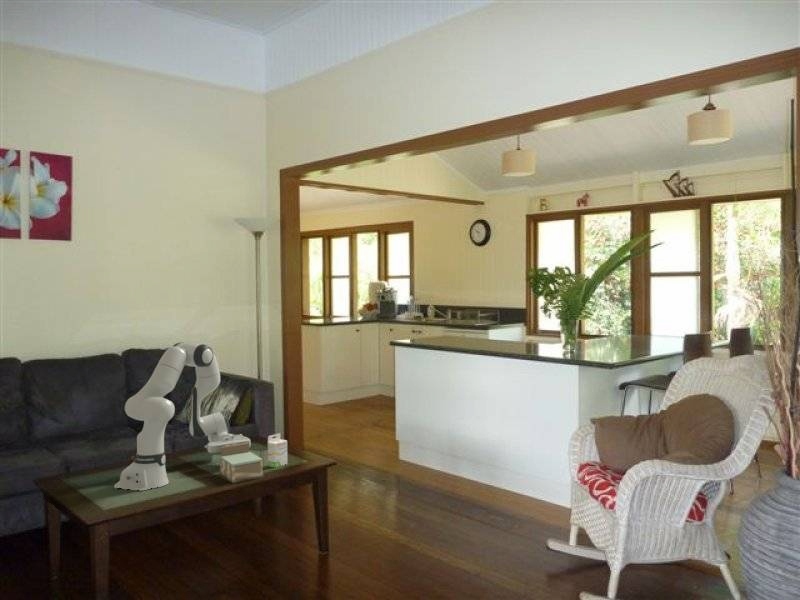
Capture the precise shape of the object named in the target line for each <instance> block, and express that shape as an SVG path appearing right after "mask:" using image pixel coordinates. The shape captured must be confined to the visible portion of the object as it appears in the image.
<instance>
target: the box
mask: <svg viewBox="0 0 800 600" xmlns="http://www.w3.org/2000/svg"><path fill="white" fill-rule="evenodd" d="M263 462H264V461H261V462H256V463H250V464H244V465H238V466H231V465H230V464H228V463H227V462H225V461H224V460H222V459H221V458H220V457H219V474H220V473H221V474H220V475H222V476H223V477H224V478H226V479H227V480H228V481H229V482H231V483H232V484H234V483H238V482H239V483H240V482H245V481H250V480H255V479H261V478H264V469H263V468H264V466H263V465H264V464H263Z"/></svg>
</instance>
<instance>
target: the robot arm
mask: <svg viewBox="0 0 800 600" xmlns="http://www.w3.org/2000/svg"><path fill="white" fill-rule="evenodd" d="M156 364H157V365H156V366H155V368H154V370H153V372H152V374H151V376H150V377H149V380H148V381H147V382H146V383H145V384H144V386H142V388H140V390H139V391H138V392H136V394H134V395H132V396H131V397H129V398H128V399H126V402H125V405H124V412H125V414H126V415H127V416H128V417H129V418H131V419H133V420H137V421H141V422H143V427H142V430H141V431H140V432H139V433H138V434H137V436H136V453H135V454H134V455H132V456H131V459H132V460H133V462H132V463H130V464H129V466H126V468H124V469H123V470H122V471H121V473H120V475H119V481H118V482H116V483H115V484H114V487H113V488H114V489H117V488H122V489H121V490H127V489H130V491H137V490H139V491H142V492H143V491H146V490H151V488H152V489H157V487H158V488H161V487H164V486H166V485H168V484H169V483H170V481H169V478H168V475H167V474H168V473H167V470H166V451H165V431H166V427H167V426H168V425H167V424H168V423H169V421H170V420H171V419H172V418H173V417H174V416H175V413H176V412H175V410H176V408H175V404H174V403H173V401H171V400H169V399H167V398H164V397H165V396H166V395H167V394H168V393H170V392H172V391H173V390H174V389H175V387H176V385H177V382H178V381H179V378H180V376H181V374H182V372H183V369H184V367H185V366H187V367H195V375H196V381H195V385H194V386H193V387H192V388H191V391H190V392H191V393H190V412H189V413H190V416H189V418H190V419H189V427H188V428H189V430H188V431H189V433H190V436H191V437H192V438H194V439H197V440H201V439H203V438H206V437H207V439H208V443H207V444H206V445H204V448H205V449H207V452H208V453H209V454H213V453H214V454H216V453H221V447H223V446H229V445H236V444H242V443H249V448H251V446H252V445H251V444H252V443H251V442H252V441H251V439H250V438H249V437H247V436H243V434H242V433H230V431H231V430H230V429H231V426H230V425H231V424H230V420H229V418H228V416H227V415H226V413H223V412H222V411H217V412H214V413H210V414H208V415H205V416H201V404H202V401H203V400H204V398H206V397H207V396H209V395H210V394H212V392H214V391H215V390H216V389H217V388H218V387H219V385H220V383H221V372H220V366H219V363H218V359H217V357H216V354H215V353H214V351H213V349H212V347H210V346H209V345H207V344H204V343H202V344H201V343H196V342H184V341H180V342H177V343H175V344H173V346H170V347H168V348H167V349H166V350H165V352H164V353H163V354H162V356H161V358H160V359H159V361H158V363H156Z"/></svg>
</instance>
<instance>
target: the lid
mask: <svg viewBox="0 0 800 600" xmlns="http://www.w3.org/2000/svg"><path fill="white" fill-rule="evenodd" d="M220 458H221V459H222V460H224V461H225V462H227V463H228V464H230V465H231V466H238V465H244V464H250V463H256V462H261V461H262V462H264V461H263V458H262V457H260V456H259V455H257V454H255V453H253V452H251V451H250V447H249V443H242V444H236V445H229V446H223V447H221V452H220V454H219V459H220Z"/></svg>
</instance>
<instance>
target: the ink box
mask: <svg viewBox="0 0 800 600" xmlns="http://www.w3.org/2000/svg"><path fill="white" fill-rule="evenodd" d="M285 464H286V465H288V440H286V439H281V433H280V432H279V433H274V434H272V435H268V437H267V466H270V468H273V467H274V468H273V469H276V468H278V467H279V466H280V467H282V465H283V466H286V465H285ZM275 467H276V468H275Z"/></svg>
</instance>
